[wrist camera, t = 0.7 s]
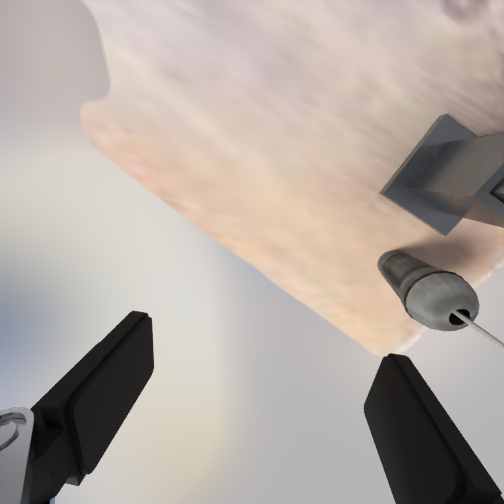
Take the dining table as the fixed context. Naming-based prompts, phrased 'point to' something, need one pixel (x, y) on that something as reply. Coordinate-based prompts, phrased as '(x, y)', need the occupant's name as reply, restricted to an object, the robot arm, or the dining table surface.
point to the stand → (450, 177)
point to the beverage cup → (432, 294)
